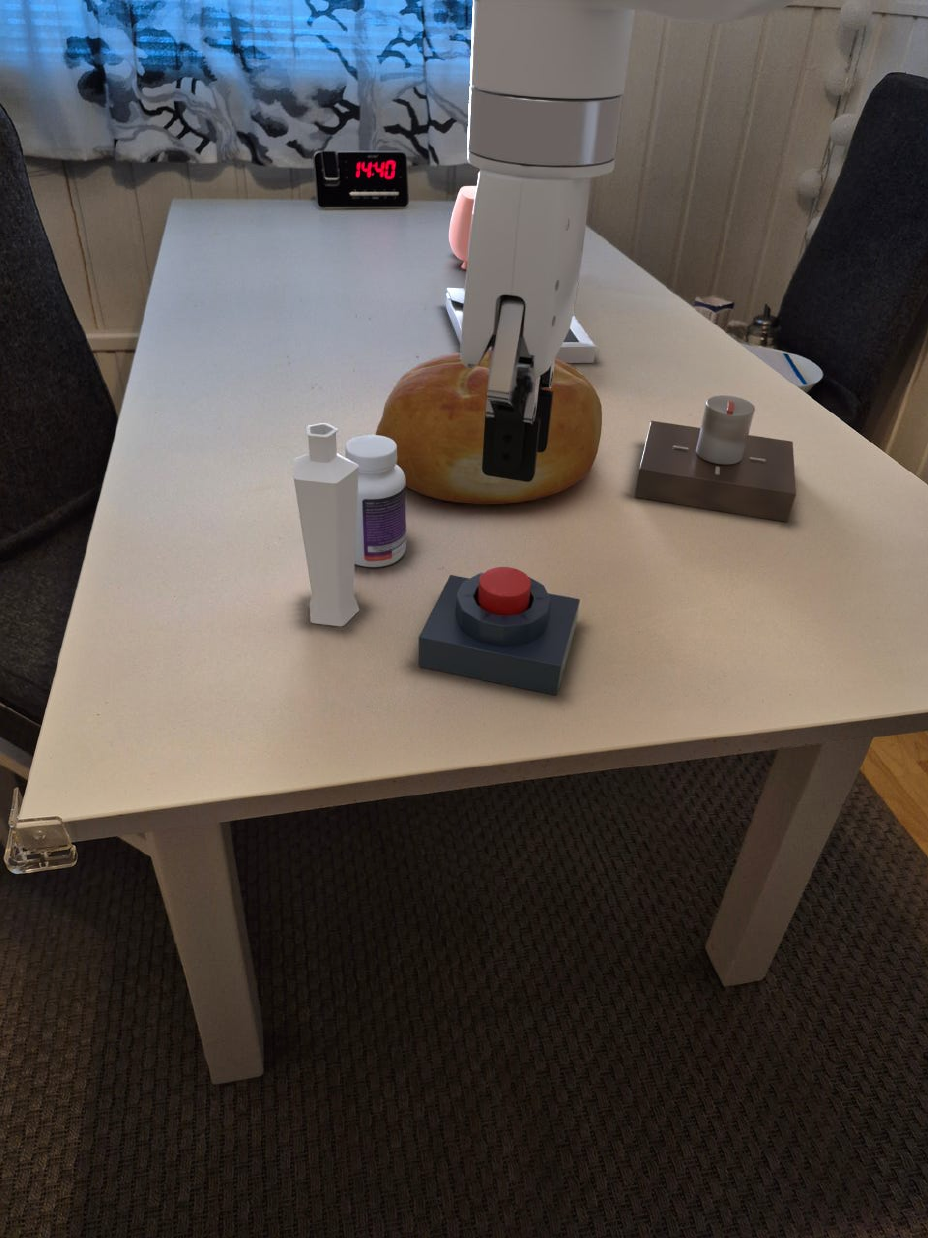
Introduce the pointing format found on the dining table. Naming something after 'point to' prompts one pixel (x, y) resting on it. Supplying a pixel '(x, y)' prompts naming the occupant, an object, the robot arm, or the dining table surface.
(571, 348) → the picture frame
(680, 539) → the dining table surface
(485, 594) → the button
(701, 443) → the knob
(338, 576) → the perfume bottle
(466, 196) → the teapot
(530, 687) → the button box
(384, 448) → the pill bottle
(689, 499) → the dial panel
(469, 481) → the bread
